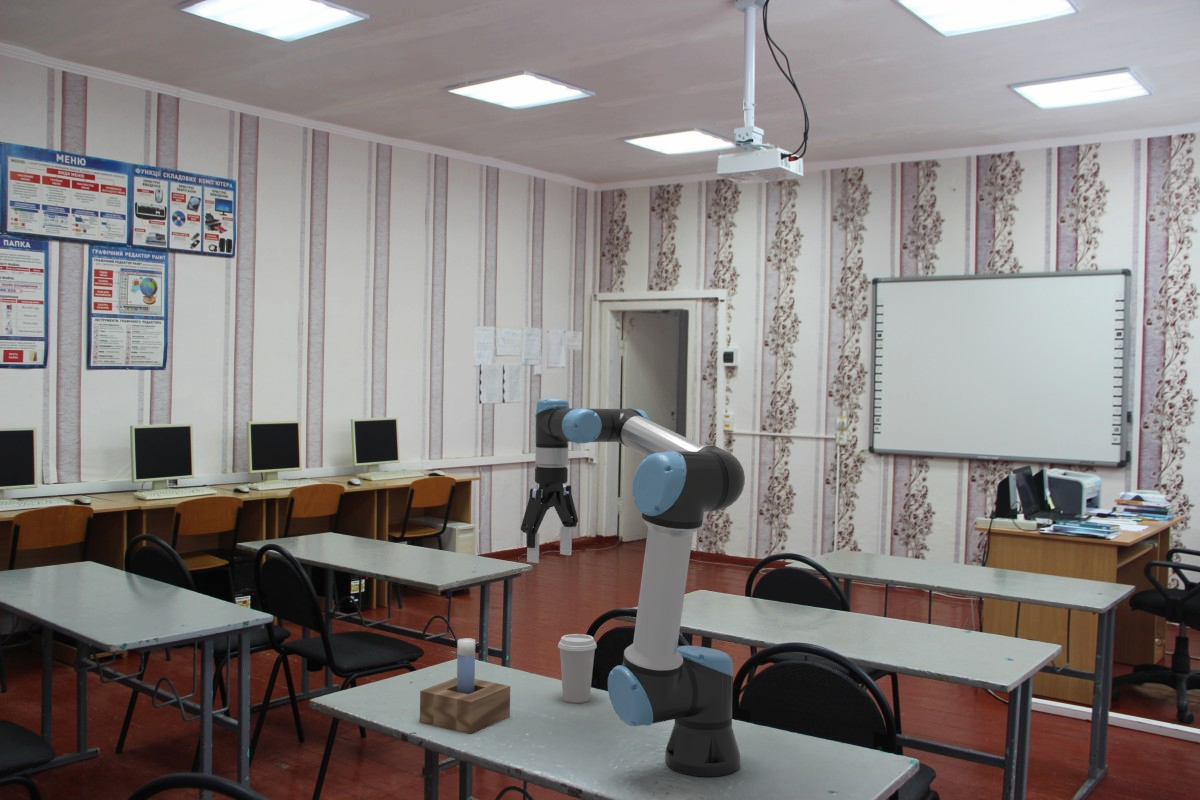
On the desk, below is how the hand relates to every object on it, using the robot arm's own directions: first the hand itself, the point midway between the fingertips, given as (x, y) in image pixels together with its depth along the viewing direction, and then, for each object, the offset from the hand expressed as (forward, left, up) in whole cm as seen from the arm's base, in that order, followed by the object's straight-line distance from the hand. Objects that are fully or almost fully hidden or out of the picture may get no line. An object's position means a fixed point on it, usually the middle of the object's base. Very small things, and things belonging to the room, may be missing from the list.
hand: (549, 558), depth 229 cm
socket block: (+15, +11, -37) cm, 41 cm away
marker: (+15, +11, -37) cm, 41 cm away
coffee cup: (+2, -16, -37) cm, 40 cm away
